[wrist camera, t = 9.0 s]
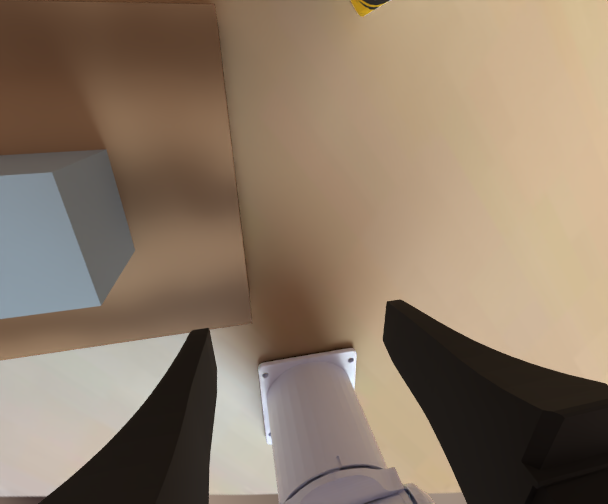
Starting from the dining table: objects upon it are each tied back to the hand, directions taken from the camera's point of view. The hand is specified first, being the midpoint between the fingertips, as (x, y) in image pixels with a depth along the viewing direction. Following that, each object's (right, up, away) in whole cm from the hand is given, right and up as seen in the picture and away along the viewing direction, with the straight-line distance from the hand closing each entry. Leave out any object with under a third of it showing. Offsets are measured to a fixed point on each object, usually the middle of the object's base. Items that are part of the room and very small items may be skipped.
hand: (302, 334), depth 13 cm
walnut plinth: (-12, +6, +5) cm, 14 cm away
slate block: (-11, +5, +2) cm, 13 cm away
